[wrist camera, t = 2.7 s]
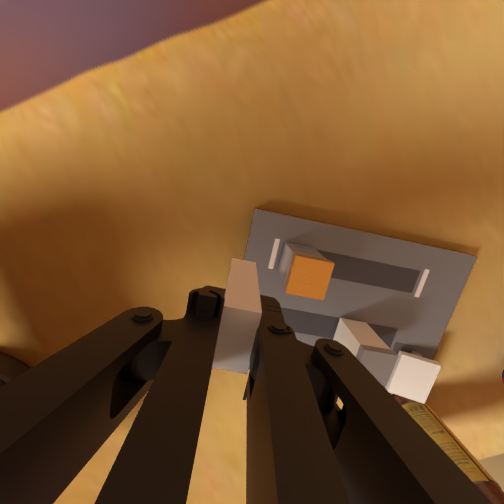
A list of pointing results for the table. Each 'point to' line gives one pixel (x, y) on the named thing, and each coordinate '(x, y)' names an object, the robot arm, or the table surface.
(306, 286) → the block
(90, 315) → the table surface
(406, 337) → the panel
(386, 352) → the slider cream
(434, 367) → the block
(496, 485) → the sauce bottle
